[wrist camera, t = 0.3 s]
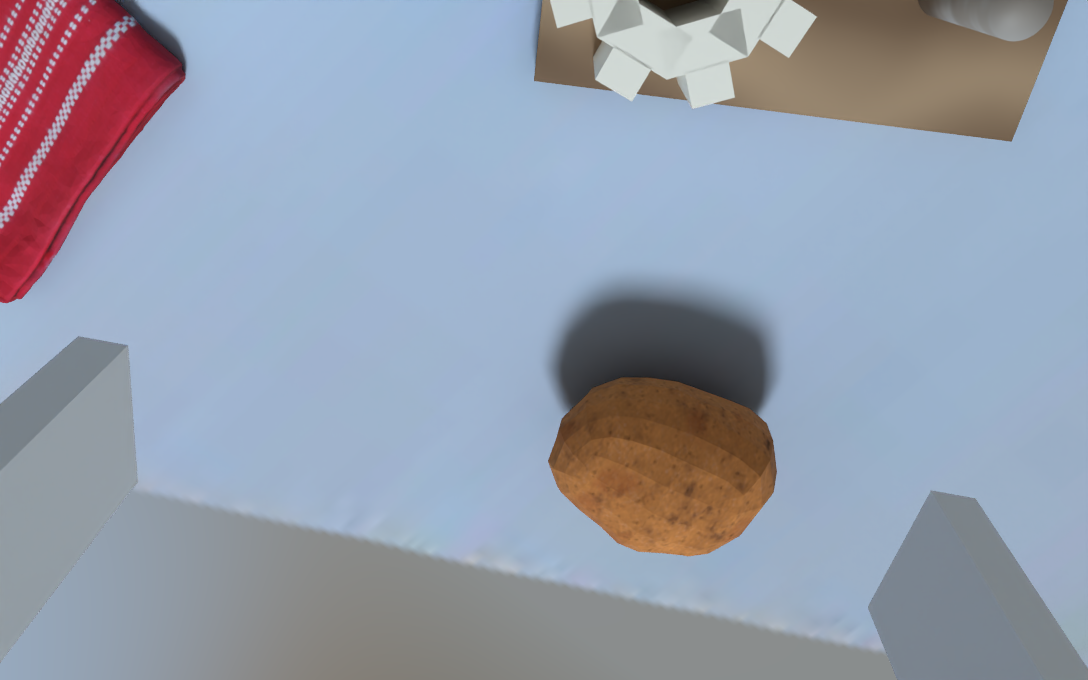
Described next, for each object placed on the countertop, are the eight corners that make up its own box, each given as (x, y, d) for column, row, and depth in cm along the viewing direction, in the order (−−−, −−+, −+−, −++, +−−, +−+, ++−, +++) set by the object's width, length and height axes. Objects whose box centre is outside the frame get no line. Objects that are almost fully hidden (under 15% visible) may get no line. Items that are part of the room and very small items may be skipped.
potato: (693, 518, 48) (711, 616, 41) (525, 445, 46) (515, 537, 39) (783, 404, 44) (820, 493, 37) (603, 318, 42) (607, 396, 35)
